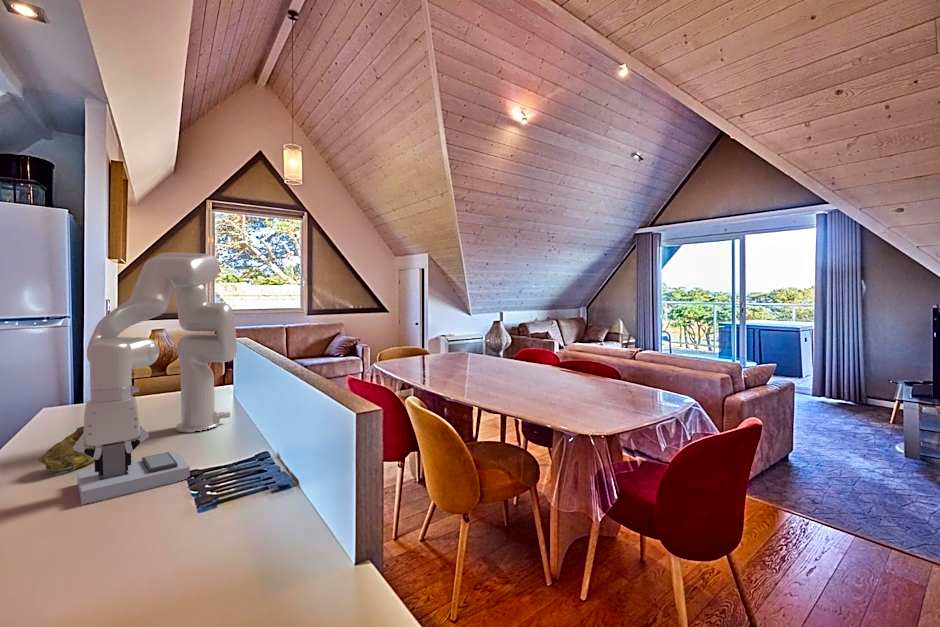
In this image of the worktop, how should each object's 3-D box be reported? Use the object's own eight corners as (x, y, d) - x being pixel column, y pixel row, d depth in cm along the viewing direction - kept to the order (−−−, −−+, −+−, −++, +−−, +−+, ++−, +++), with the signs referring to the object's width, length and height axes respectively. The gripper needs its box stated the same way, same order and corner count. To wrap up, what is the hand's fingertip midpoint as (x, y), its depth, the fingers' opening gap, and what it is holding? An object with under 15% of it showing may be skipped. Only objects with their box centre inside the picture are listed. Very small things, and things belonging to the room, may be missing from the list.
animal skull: (130, 443, 123) (114, 416, 118) (72, 488, 111) (51, 460, 106) (106, 437, 126) (89, 411, 121) (47, 480, 113) (25, 452, 108)
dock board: (176, 462, 119) (176, 448, 118) (189, 478, 109) (189, 462, 108) (77, 484, 105) (77, 467, 105) (81, 505, 95) (81, 486, 95)
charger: (123, 475, 107) (122, 437, 106) (125, 480, 104) (124, 442, 103) (101, 479, 104) (100, 441, 103) (103, 485, 101) (102, 445, 101)
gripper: (152, 386, 111) (153, 458, 112) (62, 397, 100) (64, 476, 101) (158, 392, 106) (159, 466, 107) (63, 403, 94) (66, 487, 95)
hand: (113, 470), depth 104 cm, fingers closed on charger, 3 cm apart
